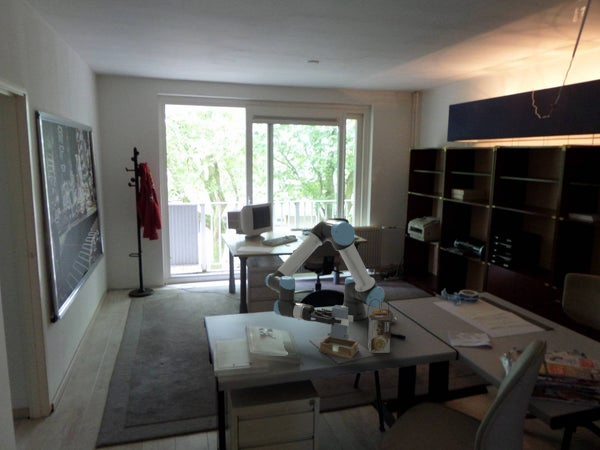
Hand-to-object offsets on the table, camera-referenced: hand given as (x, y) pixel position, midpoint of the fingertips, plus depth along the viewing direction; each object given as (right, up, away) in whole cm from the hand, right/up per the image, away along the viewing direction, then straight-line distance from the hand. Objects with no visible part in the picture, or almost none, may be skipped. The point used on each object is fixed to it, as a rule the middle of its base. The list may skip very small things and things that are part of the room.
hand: (350, 321), depth 191 cm
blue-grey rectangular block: (-5, -8, +3) cm, 10 cm away
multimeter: (+18, -14, +20) cm, 30 cm away
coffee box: (+14, -15, +6) cm, 22 cm away
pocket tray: (-5, -15, +4) cm, 16 cm away
